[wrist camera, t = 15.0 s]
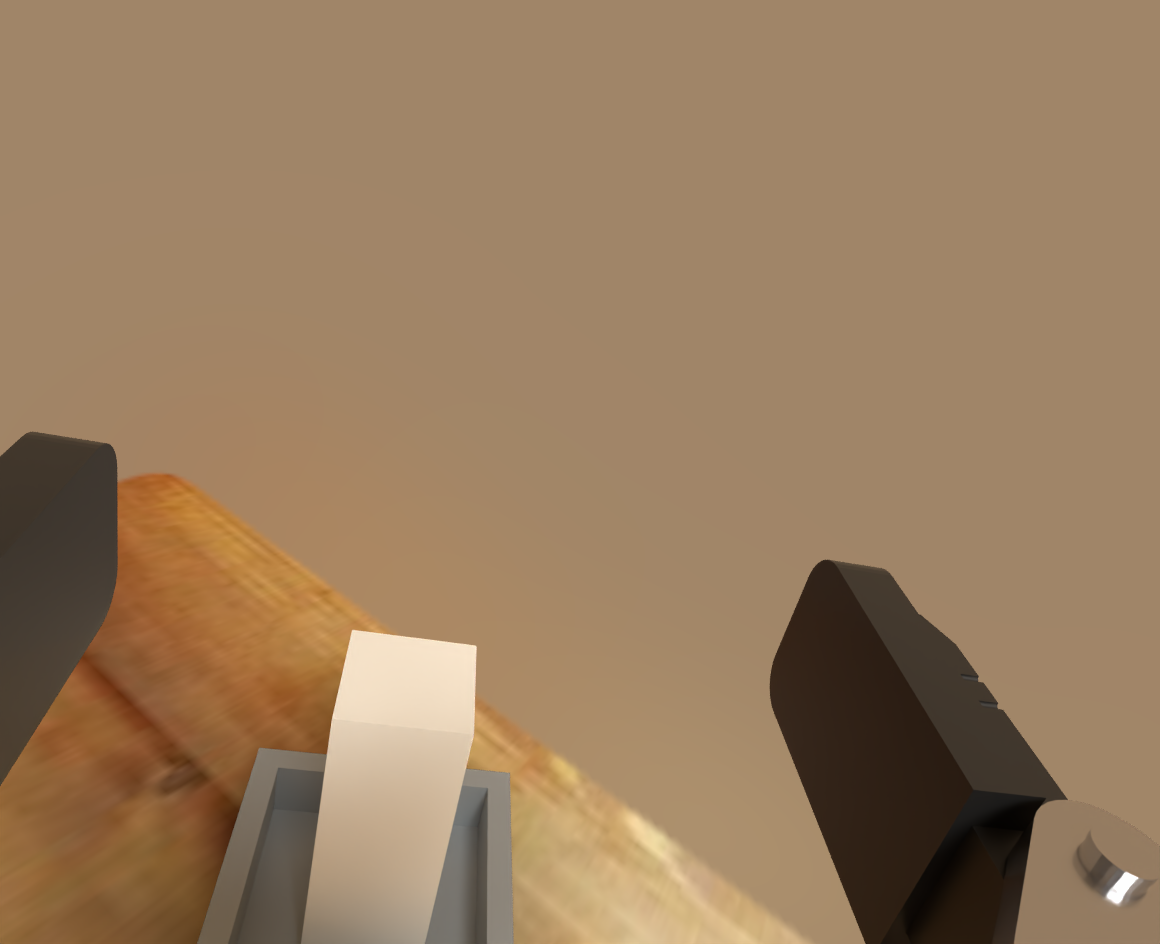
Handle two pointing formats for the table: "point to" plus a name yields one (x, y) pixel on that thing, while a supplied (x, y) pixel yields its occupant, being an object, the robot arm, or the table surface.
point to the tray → (286, 845)
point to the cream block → (390, 789)
